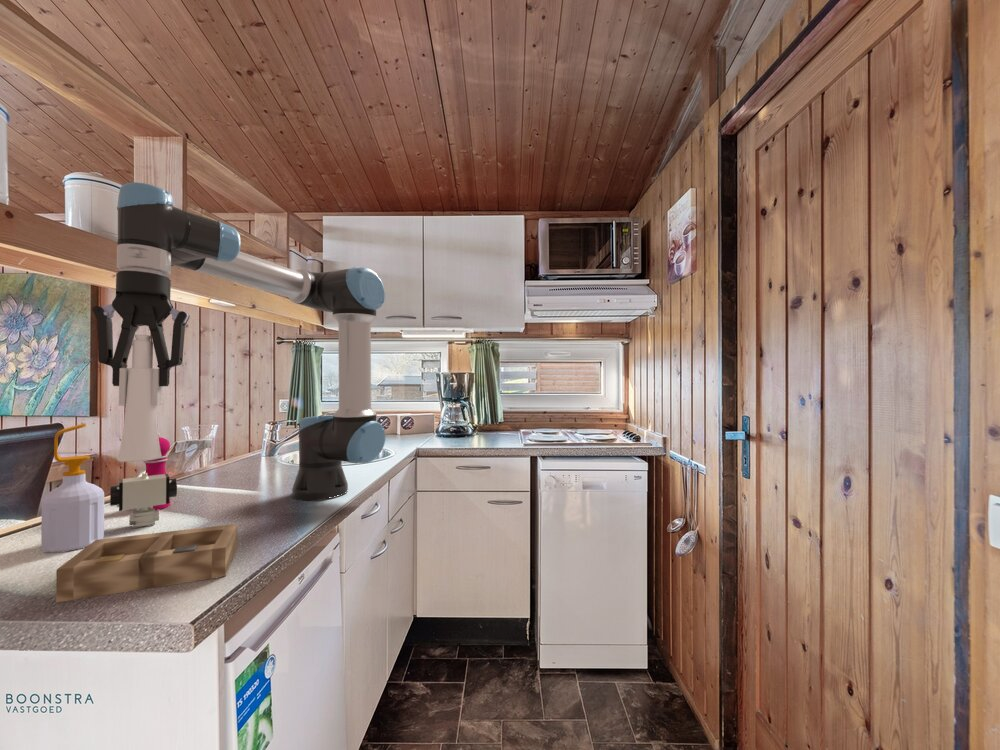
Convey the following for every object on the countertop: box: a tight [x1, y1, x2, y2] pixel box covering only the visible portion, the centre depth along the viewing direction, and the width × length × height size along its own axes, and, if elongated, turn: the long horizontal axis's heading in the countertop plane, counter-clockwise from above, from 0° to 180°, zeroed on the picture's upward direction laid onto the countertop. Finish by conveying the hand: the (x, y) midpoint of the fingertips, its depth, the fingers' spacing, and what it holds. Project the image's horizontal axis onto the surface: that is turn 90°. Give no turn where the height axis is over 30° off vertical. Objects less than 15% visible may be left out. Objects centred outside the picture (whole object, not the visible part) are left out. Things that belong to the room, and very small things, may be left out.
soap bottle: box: [40, 423, 105, 553], centre depth 88 cm, size 9×9×25 cm
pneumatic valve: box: [109, 472, 178, 529], centre depth 100 cm, size 6×12×12 cm, turn 131°
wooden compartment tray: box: [55, 523, 239, 603], centre depth 76 cm, size 22×13×5 cm, turn 114°
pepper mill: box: [139, 431, 171, 511], centre depth 113 cm, size 7×7×20 cm
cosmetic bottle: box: [116, 334, 162, 463], centre depth 77 cm, size 6×6×22 cm
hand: (141, 404), depth 76 cm, fingers closed on cosmetic bottle, 4 cm apart
